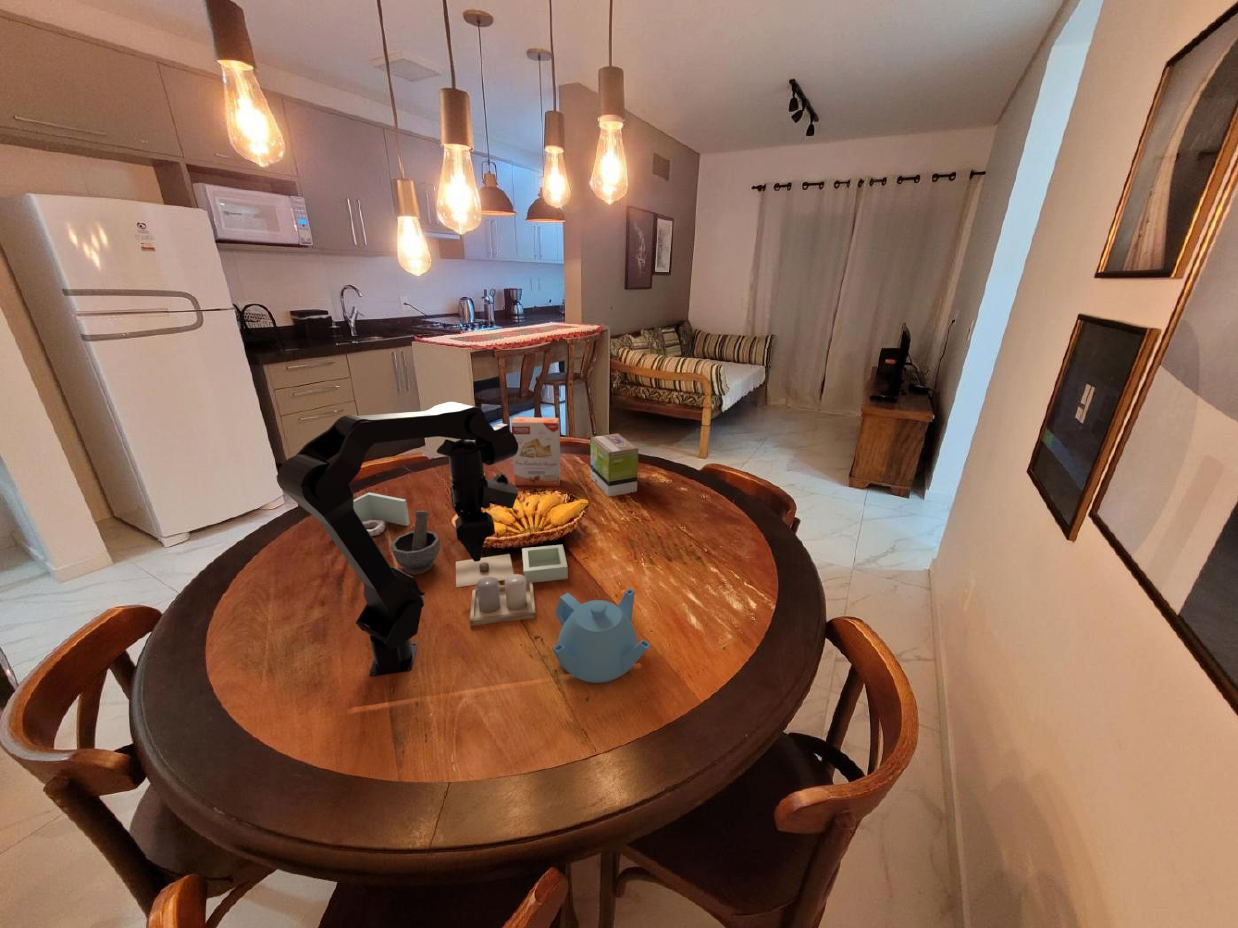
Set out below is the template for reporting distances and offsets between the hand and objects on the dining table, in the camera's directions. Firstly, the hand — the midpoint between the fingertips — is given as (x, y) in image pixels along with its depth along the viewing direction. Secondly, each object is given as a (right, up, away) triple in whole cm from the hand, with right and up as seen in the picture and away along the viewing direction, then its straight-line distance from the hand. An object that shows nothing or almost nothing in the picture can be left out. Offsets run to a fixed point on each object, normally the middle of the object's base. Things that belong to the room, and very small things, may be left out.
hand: (474, 548), depth 91 cm
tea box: (+26, +9, +60) cm, 66 cm away
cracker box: (+2, +10, +60) cm, 61 cm away
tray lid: (-2, -8, +14) cm, 17 cm away
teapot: (+24, -18, -8) cm, 31 cm away
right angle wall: (-35, -1, +30) cm, 46 cm away
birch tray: (+5, -12, +4) cm, 14 cm away
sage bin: (+11, -8, +15) cm, 20 cm away
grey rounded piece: (+2, -12, +3) cm, 12 cm away
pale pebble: (+7, -12, +4) cm, 14 cm away
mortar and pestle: (-17, -7, +16) cm, 24 cm away
